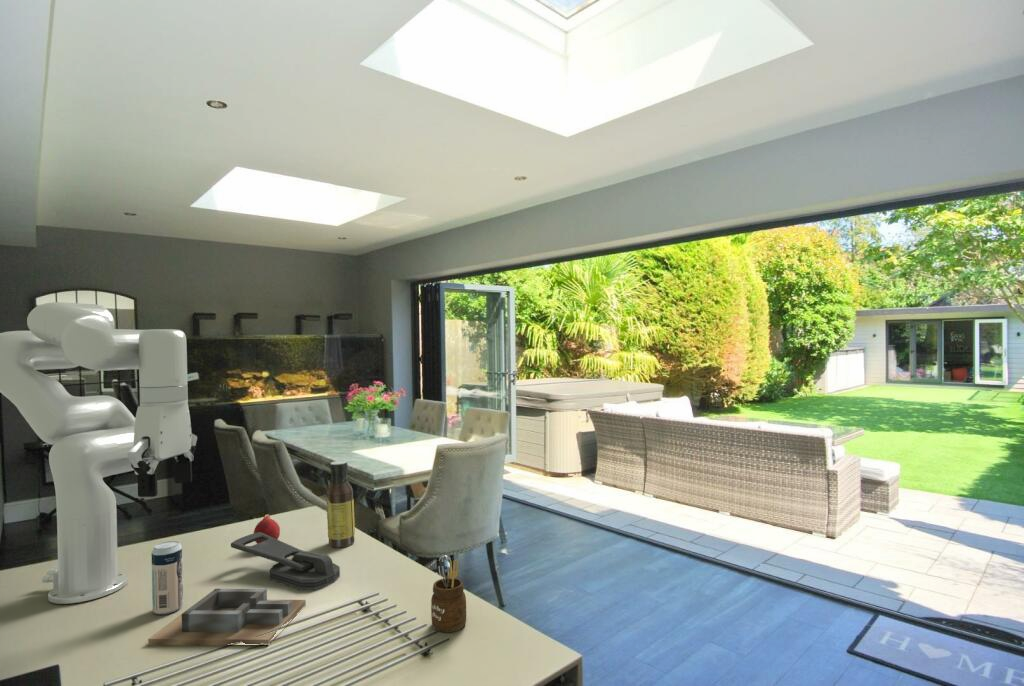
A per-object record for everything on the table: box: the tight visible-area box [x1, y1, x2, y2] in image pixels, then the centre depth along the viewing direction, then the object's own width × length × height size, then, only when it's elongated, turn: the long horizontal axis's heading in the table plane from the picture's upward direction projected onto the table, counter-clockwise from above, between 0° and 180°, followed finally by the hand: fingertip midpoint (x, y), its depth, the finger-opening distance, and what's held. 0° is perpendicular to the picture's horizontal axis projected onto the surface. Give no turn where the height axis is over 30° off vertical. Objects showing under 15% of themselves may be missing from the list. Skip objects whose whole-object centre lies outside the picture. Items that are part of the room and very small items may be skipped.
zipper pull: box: [230, 532, 341, 591], centre depth 118 cm, size 9×7×25 cm
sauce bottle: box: [326, 460, 356, 548], centre depth 136 cm, size 6×6×20 cm
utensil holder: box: [430, 555, 467, 633], centre depth 95 cm, size 6×6×12 cm
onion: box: [252, 514, 281, 544], centre depth 134 cm, size 6×6×8 cm
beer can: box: [151, 540, 184, 616], centre depth 103 cm, size 5×5×12 cm
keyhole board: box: [147, 588, 307, 647], centre depth 97 cm, size 20×14×4 cm
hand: (166, 489), depth 103 cm, fingers open, 9 cm apart
